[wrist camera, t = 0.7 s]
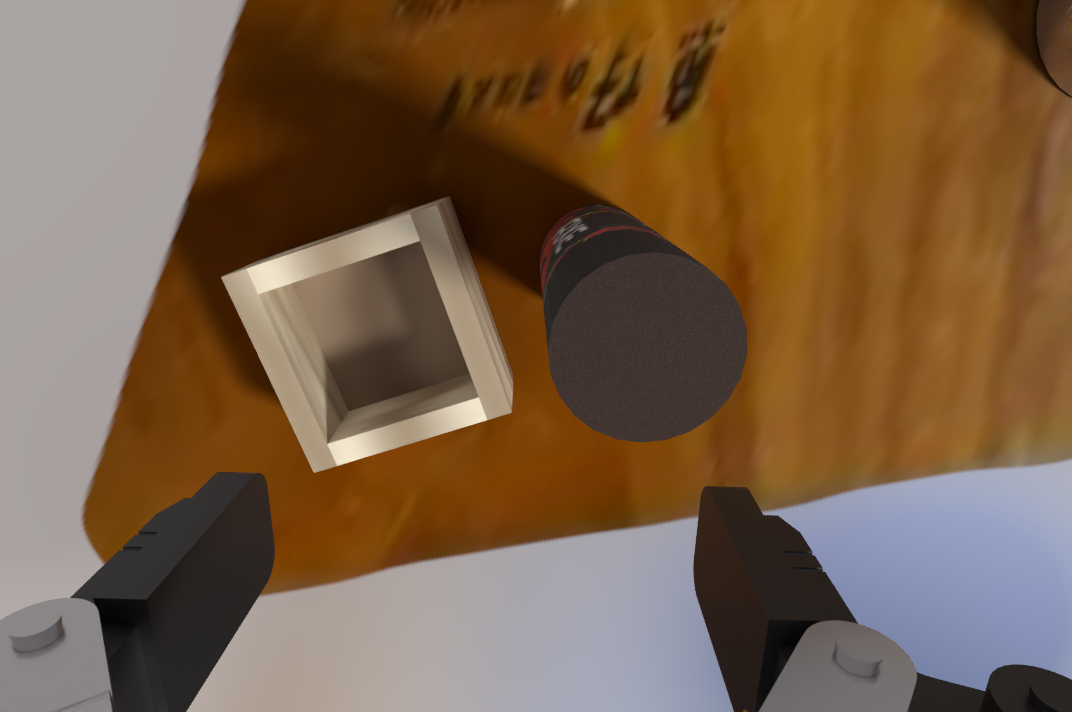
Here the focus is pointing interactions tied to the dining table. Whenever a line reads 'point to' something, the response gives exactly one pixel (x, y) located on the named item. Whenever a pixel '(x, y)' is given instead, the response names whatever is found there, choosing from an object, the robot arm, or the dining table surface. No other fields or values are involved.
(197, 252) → the dining table surface
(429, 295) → the white wooden box
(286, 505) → the dining table surface
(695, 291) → the deodorant
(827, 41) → the dining table surface
